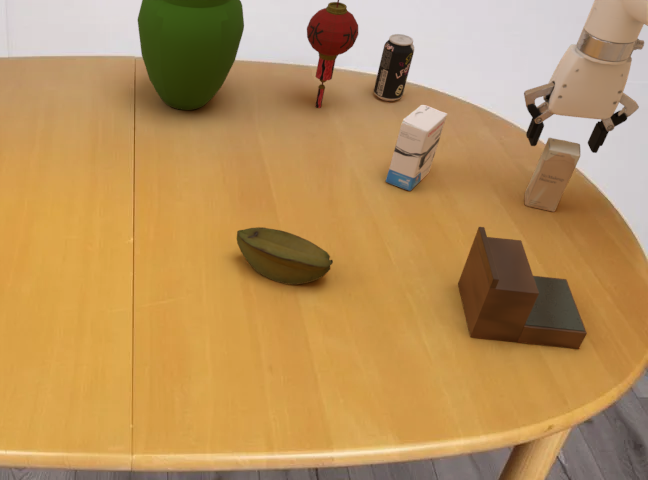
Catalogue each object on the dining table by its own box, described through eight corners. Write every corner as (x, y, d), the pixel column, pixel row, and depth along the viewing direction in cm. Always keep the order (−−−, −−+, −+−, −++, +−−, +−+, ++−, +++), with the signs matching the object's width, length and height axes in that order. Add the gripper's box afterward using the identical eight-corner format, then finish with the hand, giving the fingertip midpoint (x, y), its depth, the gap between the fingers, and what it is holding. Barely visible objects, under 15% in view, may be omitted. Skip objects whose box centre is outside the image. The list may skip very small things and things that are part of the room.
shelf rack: (559, 294, 131) (586, 237, 124) (578, 349, 122) (609, 290, 115) (457, 283, 132) (478, 226, 124) (470, 337, 123) (493, 278, 116)
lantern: (319, 90, 176) (349, -65, 155) (352, 110, 170) (387, -48, 150) (284, 102, 172) (309, -57, 151) (316, 123, 166) (347, -39, 146)
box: (524, 206, 148) (547, 148, 140) (524, 192, 151) (547, 136, 143) (556, 212, 147) (581, 155, 139) (556, 199, 150) (580, 142, 142)
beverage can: (402, 92, 177) (417, 35, 168) (400, 105, 173) (415, 47, 164) (374, 87, 178) (388, 30, 170) (371, 100, 174) (384, 42, 166)
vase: (132, 123, 163) (136, -8, 146) (136, 75, 177) (141, -49, 161) (236, 129, 163) (252, -1, 146) (232, 80, 177) (247, -43, 161)
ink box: (410, 192, 149) (428, 131, 141) (384, 182, 152) (400, 121, 144) (430, 172, 155) (449, 112, 147) (405, 162, 157) (421, 102, 149)
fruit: (266, 302, 127) (272, 266, 122) (230, 254, 135) (235, 218, 130) (334, 285, 130) (343, 250, 126) (295, 239, 138) (302, 204, 134)
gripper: (656, 39, 132) (609, 139, 144) (540, 28, 133) (503, 127, 145) (672, 62, 127) (622, 163, 139) (551, 49, 128) (511, 151, 139)
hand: (561, 145), depth 142 cm, fingers open, 9 cm apart
